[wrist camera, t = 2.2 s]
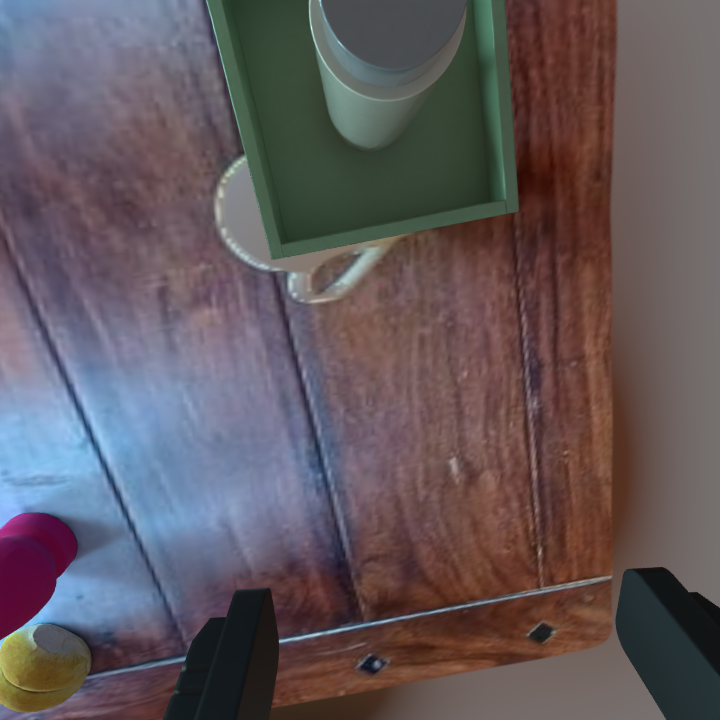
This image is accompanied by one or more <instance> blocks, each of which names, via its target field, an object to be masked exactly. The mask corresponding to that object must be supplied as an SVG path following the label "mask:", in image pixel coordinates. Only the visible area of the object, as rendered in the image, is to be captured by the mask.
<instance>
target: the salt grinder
mask: <svg viewBox="0 0 720 720" xmlns="http://www.w3.org/2000/svg"><path fill="white" fill-rule="evenodd" d="M467 1H468V0H309V19H310V27H311V32H312V37H313V42H314V46H315V51H316V56H317V61H318V65H319V70H320V75H321V80H322V85H323V89H324V94H325V99H326V104H327V108H328V113H329V118H330V122H331V124H332V127H333V129H334V131H335V133H336V134H337V135H338V137H339V138H340V139H341V140H342V141H343V142H344V143H345V144H346V145H348V146H349V147H351V148H353V149H355V150H357V151H360V152H370V153H371V152H378V151H381V150H384V149H386V148H388V147H389V146H391V145H392V144H394V143H395V142H396V141H397V140H398V139H399V138H400V136H401V135H402V133H403V132H404V131H405V129H406V128H407V126H408V125H409V123H410V122H411V120H412V119H413V117H414V116H415V114H416V113H417V112H418V110H419V109H420V107H421V106H422V104H423V103H424V101H425V100H426V98H427V97H428V95H429V94H430V93H431V91H432V90H433V88H434V87H435V85H436V84H437V82H438V81H439V79H440V78H441V77H442V75H443V74H444V72H445V71H446V69H447V68H448V66H449V65H450V63H451V61H452V60H453V58H454V56H455V54H456V52H457V50H458V47H459V45H460V42H461V39H462V35H463V32H464V27H465V21H466V10H467Z"/></svg>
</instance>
